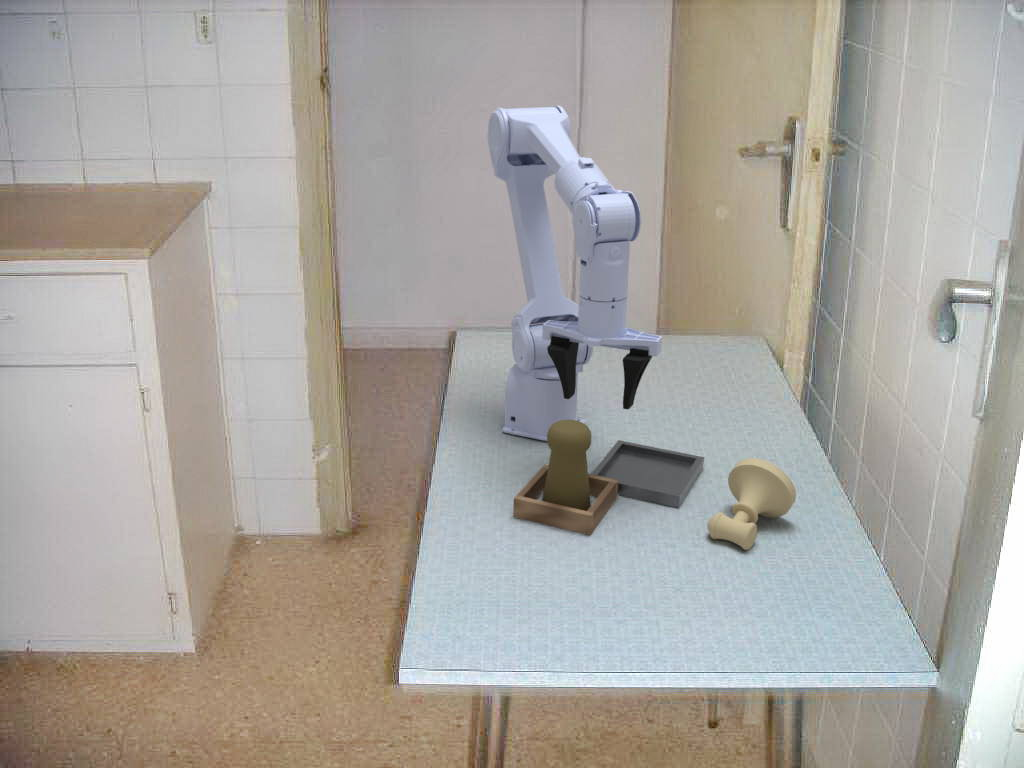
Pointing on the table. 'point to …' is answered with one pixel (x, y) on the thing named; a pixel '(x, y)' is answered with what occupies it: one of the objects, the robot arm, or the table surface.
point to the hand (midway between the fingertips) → (598, 401)
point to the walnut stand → (563, 515)
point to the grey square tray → (650, 472)
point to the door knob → (753, 500)
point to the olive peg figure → (568, 465)
